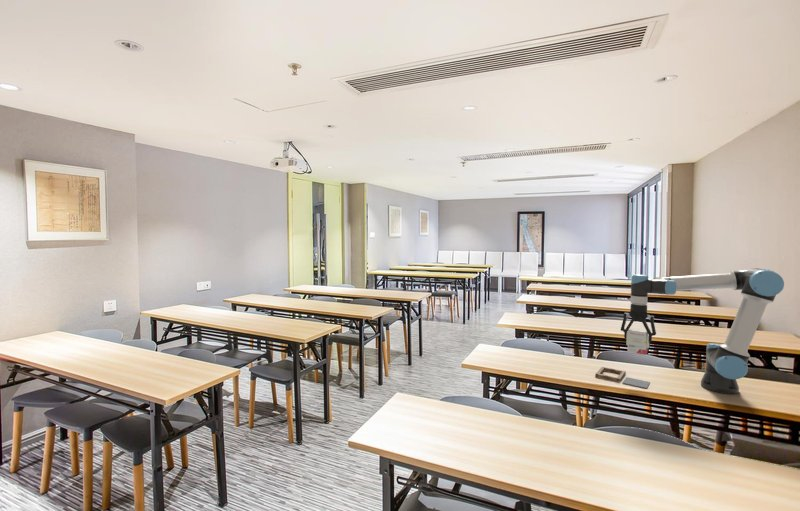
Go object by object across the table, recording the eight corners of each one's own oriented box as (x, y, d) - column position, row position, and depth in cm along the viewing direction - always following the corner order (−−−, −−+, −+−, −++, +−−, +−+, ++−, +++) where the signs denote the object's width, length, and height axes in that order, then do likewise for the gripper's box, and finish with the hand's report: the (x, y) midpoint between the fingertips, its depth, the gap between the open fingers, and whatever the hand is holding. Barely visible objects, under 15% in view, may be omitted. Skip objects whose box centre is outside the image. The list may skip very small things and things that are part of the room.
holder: (625, 374, 218) (625, 371, 218) (619, 382, 205) (619, 378, 205) (602, 369, 225) (602, 366, 225) (595, 376, 213) (595, 373, 213)
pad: (649, 383, 205) (649, 381, 205) (646, 389, 196) (646, 387, 196) (626, 378, 212) (626, 377, 212) (622, 383, 203) (622, 382, 203)
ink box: (647, 353, 202) (648, 331, 202) (645, 355, 199) (646, 332, 198) (629, 349, 208) (629, 328, 207) (627, 351, 204) (627, 329, 204)
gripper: (664, 305, 198) (662, 348, 199) (617, 300, 212) (616, 341, 213) (662, 307, 192) (660, 351, 193) (614, 302, 206) (613, 343, 207)
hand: (637, 346), depth 203 cm, fingers closed on ink box, 8 cm apart
